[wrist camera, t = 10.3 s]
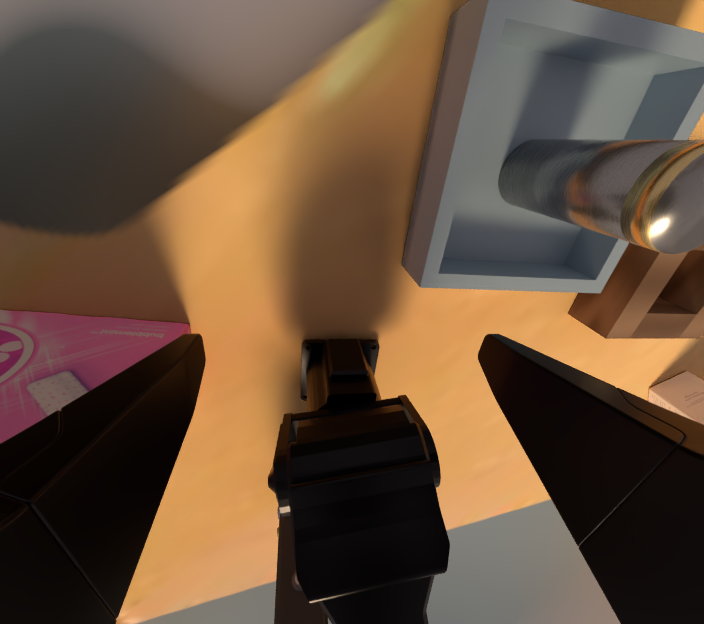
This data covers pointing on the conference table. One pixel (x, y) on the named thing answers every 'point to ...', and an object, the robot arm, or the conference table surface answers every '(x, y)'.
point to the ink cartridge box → (681, 396)
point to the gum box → (66, 359)
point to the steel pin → (613, 188)
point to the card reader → (292, 584)
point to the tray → (538, 134)
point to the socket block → (648, 297)
